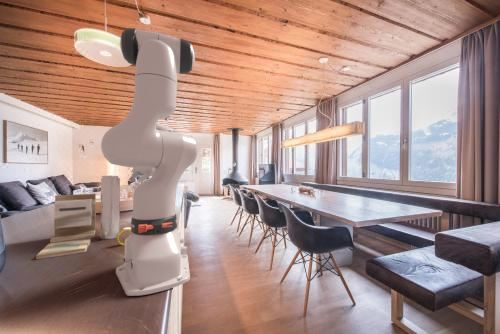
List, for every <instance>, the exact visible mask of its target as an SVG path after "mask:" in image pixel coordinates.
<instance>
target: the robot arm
mask: <svg viewBox="0 0 500 334" xmlns="http://www.w3.org/2000/svg"><path fill="white" fill-rule="evenodd" d="M119 46H120V50H121V54H122V56H123V58H124V60H125V61H126V62H127V63H128V64H130V65H133V66H135V73H134V93H133V100H132V101H133V102H132V106H131V109H130V111H129V112H128V114H127V116H126V117H125V118H124V119H123V120H122V121H120V122H119V123H118V124H115V125H114V126H112V127H111V128H109V129H108V130H107V131H105V133H104V134H103V137H102V139H101V143H100V149H101V152H102V155H103V156H104V158H105V159H106V160H107V162H109V163H110V164H111V165H115V166H121V167H127V168H132V169H131V172H132V174H131V176H130V177H128V181H129V182H131V183H133V182H135V180H136V181H137V182H138V185H137V186H136V187H135V188H134V190H133V193H132V194H133V195H132V199H133V200H132V217H131V218H130V219H131V220H130V227H131V230H130V231H131V233H130V234H129V235H128V236H127V237H126V238H125V240H124V243H125V245H124V257H123V264H122V265H119V266H117V267H116V268H115V275H116V276H117V279H118V280H119V282H120V284H121V287H122V289H123V291H124V294H125V295H126V296H128V297H129V296H130V297H131V296H132V297H133V296H135V297H136V296H145V295H151V294H155V293H159V292H163V291H168V290H169V289H170V290H171V289H173V288H177V287H179V286H181V285H183V284H185V283H187V282H189V280H191V275H190V274H191V273H190V272H191V271H190V266H189V265H190V264H189V256H188V247H187V246H186V245H185V246H184V245H183V246H181V244H185V243H184V238H183V237H182V238H181V231H180V230H179V229H178V218H177V214H176V195H177V189H178V185H179V181H180V179H181V177H182V175H183V174H184V172H185V171H186V170H187V169H188V168H189V167H190V166H192V165H193V163H195V161H196V159H197V156H198V152H199V151H198V149H199V148H198V143H197V142H196V140H195V139H194V138H193V137H192V136H189V135H186V134H184V133H181V132H176V131H175V130H174V129H172V128H170V127H168V126H165V125H164V124H162V123H160V122H158V121H159V120H162V119H165V118H168V117H170V116H171V115H173V114H174V112H175V111H176V110H177V96H178V95H177V94H178V74H179V75H184V74H189V73H191V71H192V69H193V68H194V66H195V61H196V53H195V50H194V46H193V45H192V43H191V42H190V41H189V40H186V39H184V38H178V37H175V36H172V35H169V34H165V33H162V32H161V33H160V32H158V31H155V30H154V31H153V30H145V29H138V28H137V27H136V28H135V27H128V28H125V29H123V31H122V32H121V36H120V40H119ZM137 177H138V179H136V178H137ZM146 179H147V180H146ZM139 183H140V184H139Z"/></svg>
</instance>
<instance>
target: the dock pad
mask: <svg viewBox="0 0 500 334" xmlns="http://www.w3.org/2000/svg"><path fill="white" fill-rule="evenodd" d="M91 242H92V238H84V239H76V240H68V241H60V242H53V243H50V242H49V243H48V244H47V245H46V246H45V247H43V248H42V250H40V251H39V252H38V253H37V254H36V256H35V259H36V260H42V259H48V258H56V257H61V256H67V255H75V254H79V253H85V252H86V251H87V250H88V248H89V247H90V244H91Z"/></svg>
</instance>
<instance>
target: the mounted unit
mask: <svg viewBox="0 0 500 334" xmlns="http://www.w3.org/2000/svg"><path fill="white" fill-rule="evenodd" d="M96 197H97V195H96V193H82V194H81V193H80V194H79V193H78V194H60V195H59V194H58V195H57V194H56V195H54V211H53V213H54V216H53V217H54V218H53V220H54V221H53V222H54V223H53V225H54V228H53V229H54V236H53V237H51V239H50V240H49V241H50V242H49V244H50V243H58V242H65V241H73V240H81V239H89V238H91V239H92V238H94V236H95V234H96V216H97V215H96V211H97V210H96V209H97V208H96V207H97V206H96V204H97V203H96V201H97V200H96Z"/></svg>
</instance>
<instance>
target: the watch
mask: <svg viewBox="0 0 500 334" xmlns="http://www.w3.org/2000/svg"><path fill="white" fill-rule="evenodd" d="M128 231H131V226H129V227H123V228H122V229H121V230H120V232H119V234H118V237H116V239H117V242H118V244H119V245H121V246H125V242H121V241H120V236H121V235H122V233H124V232H128Z"/></svg>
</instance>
